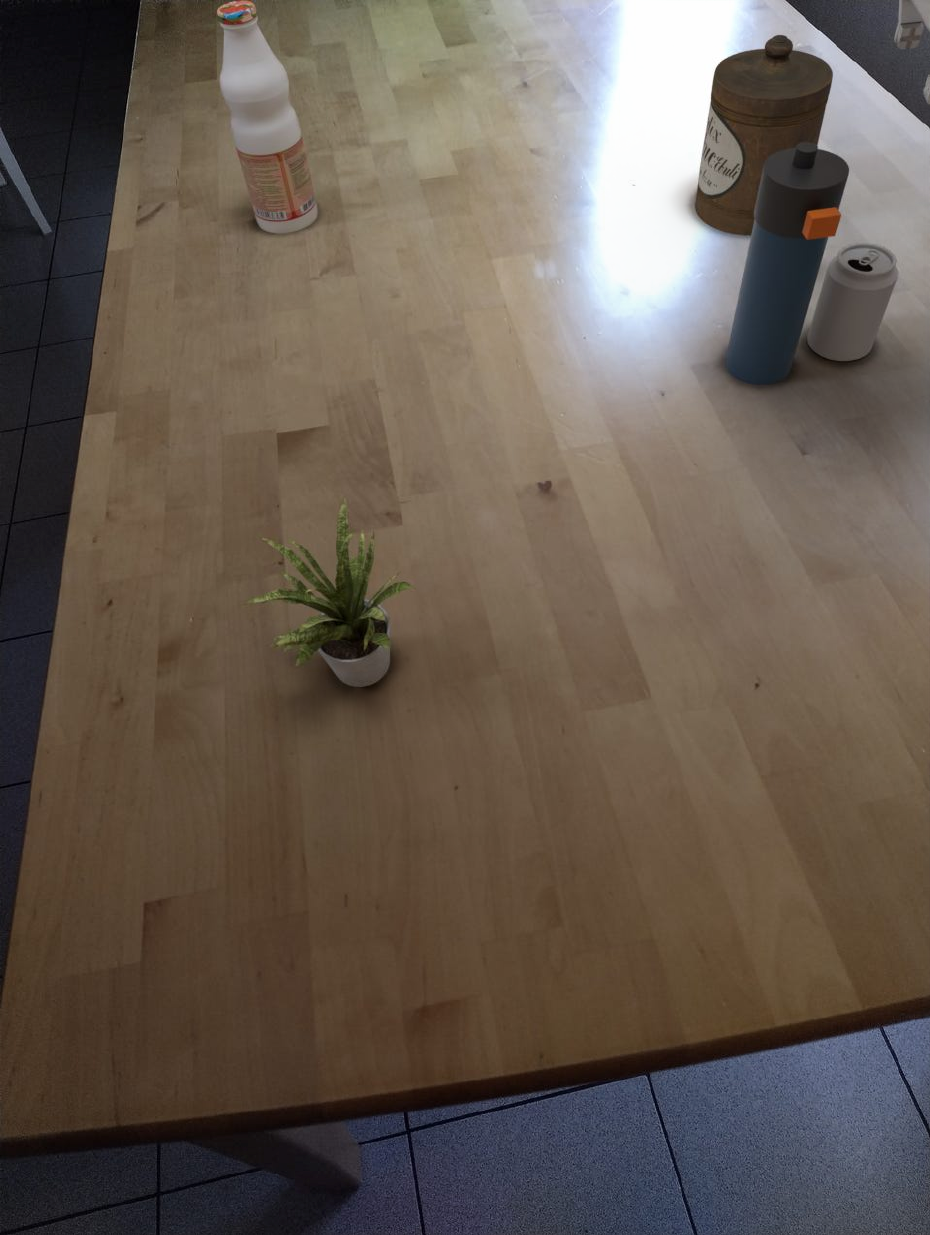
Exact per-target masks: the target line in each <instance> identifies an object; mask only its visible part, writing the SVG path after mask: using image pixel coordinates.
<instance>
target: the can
mask: <svg viewBox="0 0 930 1235" xmlns="http://www.w3.org/2000/svg"><path fill="white" fill-rule="evenodd" d="M897 262H898V260H897V257H896V255H895V254H894V253H893V252H892V250H891V249H888V247H885V246H883V245H880V244H877V243H871V242H855V243H850V244H848V245H846V246H842V248H841V249H839V251H838V252H837V255H836V256H834V257H833V258H832V259H830V261H829V263H828V265H827V269H826V272H825V275H824V279H823V283H822V285H821V288H820V293H819V295H818V299H817V303H816V305H815V309H814V313H813V317H812V320H811V323H810V327H809V329H808V332H807V333H808V334H807V336H806V340H807V344H808V345H807V346H809V347H810V349H811V350H812V351H813V352H814V353H816V354H817V355H818V356H820V357H822V358H825V359H827V360H831V361H835V362H851V361H855V360H859V359H862V358H863V357H866V356H867V355H868V354H869V353H870V352H871V351H872V349H873V346H874V343H875V340H876V337H877V335H878V332H879V330H880V327H881V324H882V322H883V319H884V316H885V313H886V311H887V309H888V305H889V302H890V299H891V297H892V294H893V293H894V292H893V291H894V288H895V287H896V283H897V281H898V278H899V270H898V267H897Z"/></svg>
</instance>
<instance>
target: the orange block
mask: <svg viewBox="0 0 930 1235" xmlns="http://www.w3.org/2000/svg"><path fill="white" fill-rule="evenodd" d="M841 217H842V213H841V212H840V211H839V209H837V208H836V207H834V208H827V209H820V210H812V211H808V212H807V216H806V219H805V223H804V227H803V231H802V233H803V234H804V236H805V237H806V239H807V240H810V239H817V238H824V237H828V238H831V237H835V236H836V235H837V231H838V227H839V224H840V221H841Z"/></svg>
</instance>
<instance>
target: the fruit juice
mask: <svg viewBox="0 0 930 1235" xmlns="http://www.w3.org/2000/svg"><path fill="white" fill-rule="evenodd" d="M216 11H217V12H216V14H217V20H218V22H219V25H220V27H221V28H222V29H223V49H222V50H223V54H222V56H223V57H222V66H221V71H220V75H219V87H220V92H221V96H222V98H223V100H224V102H225V104H226V105H227V108H228V109H229V112H230V129H231V134H232V140H233V143H234V146H235V150H236V153H237V157H238V160H239V165H240V167H241V171H242V174H243V178H244V181H245V185H246V188H247V192H248V195H249V200H250V203H251V207H252V210H253V214H254V217H255V220H256V223H257V225H258V227H259V228H260V229H261V230H263V231H265V232H267V233H271V234H291V233H294V232H299V231H301V230H303V229H305V228H307V227H309V226H310V225H311V224H313V223H314V222H315V221H316V219H317V217H318V215H319V211H318V210H319V209H318V205H317V203H318V202H317V198H316V195H315V190H314V185H313V181H312V176H311V172H310V167H309V162H308V157H307V153H306V149H305V143H304V139H303V133H302V129H301V125H300V122H299V118H298V114H297V112H296V110H295V108H294V107H293V105H292V103H291V101H290V80H289V77H288V73H287V70H286V68H285V67H284V65H283V63H282V62H281V60H279V59H278V58H277V56H276V54H274V52H273V50H272V49H271V47H270V45H269V43H268V41H267V39H266V38H265V35H264V34H263V32H262V31H261V29H260V27H259V25H258V21H259V18H258V11H257V8H256V5H255V4H254V2H252V1H249V0H234V1H230V2H226V3H224V4H222V5H220V6H219V7H218V8H217V10H216Z"/></svg>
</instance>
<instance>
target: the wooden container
mask: <svg viewBox="0 0 930 1235" xmlns="http://www.w3.org/2000/svg"><path fill="white" fill-rule="evenodd" d="M833 78H834V71H833V69H832V67H831V66H830V64H829V63H828V62H827V61H825V60H824V59H822V58H821V57H819V56H816V55H815V54H811V53H809V52H804V51H800V50H794V44H793V41H792V40H791V39H790V38H788V36H787V35H784V34H776V35H774V36H772V37H771V38H769V39H768V40H767V41H766V42H765V44H764V48H757V49H750V50H743V51H741V52H738V53H735V54H732V55H729V56H727V57H726V58H724V59H722V60H721V61H720V62H719V63H718V64H717V65H716V67H715V69H714V73H713V78H712V84H711V92H710V101H709V102H710V103H709V108H708V114H707V121H706V128H705V133H704V140H703V145H702V151H701V157H700V164H699V171H698V179H697V188H696V193H695V203H694V210H695V213H696V214H697V216H698V217H699V219H700V220H701V221H702V222H704V223H705V224H706V225H707V226H709V227H712V228H713V229H715V230H718V231H721V232H724V233H728V234H732V235H738V236H751V234H752V230H753V225H754V220H755V219H754V210H755V205H756V201H757V196H758V191H759V186H760V181H761V176H762V171H763V167H764V163H765V161H766V160H767V159H768V158H769V157H770V156H771V155H773V154H774V153H776V152H779V151H782V150H785V149H791V148H796V147H797V145H798V144H799V143H802V142H811V143H814V144H816V145H817V146H818V145H819V141H820V135H821V131H822V128H823V123H824V119H825V118H824V117H825V115H826V114H825V113H826V108H827V104H828V101H829V97H830V93H831V89H832V85H833V84H832V83H833ZM818 147H819V146H818Z"/></svg>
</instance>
